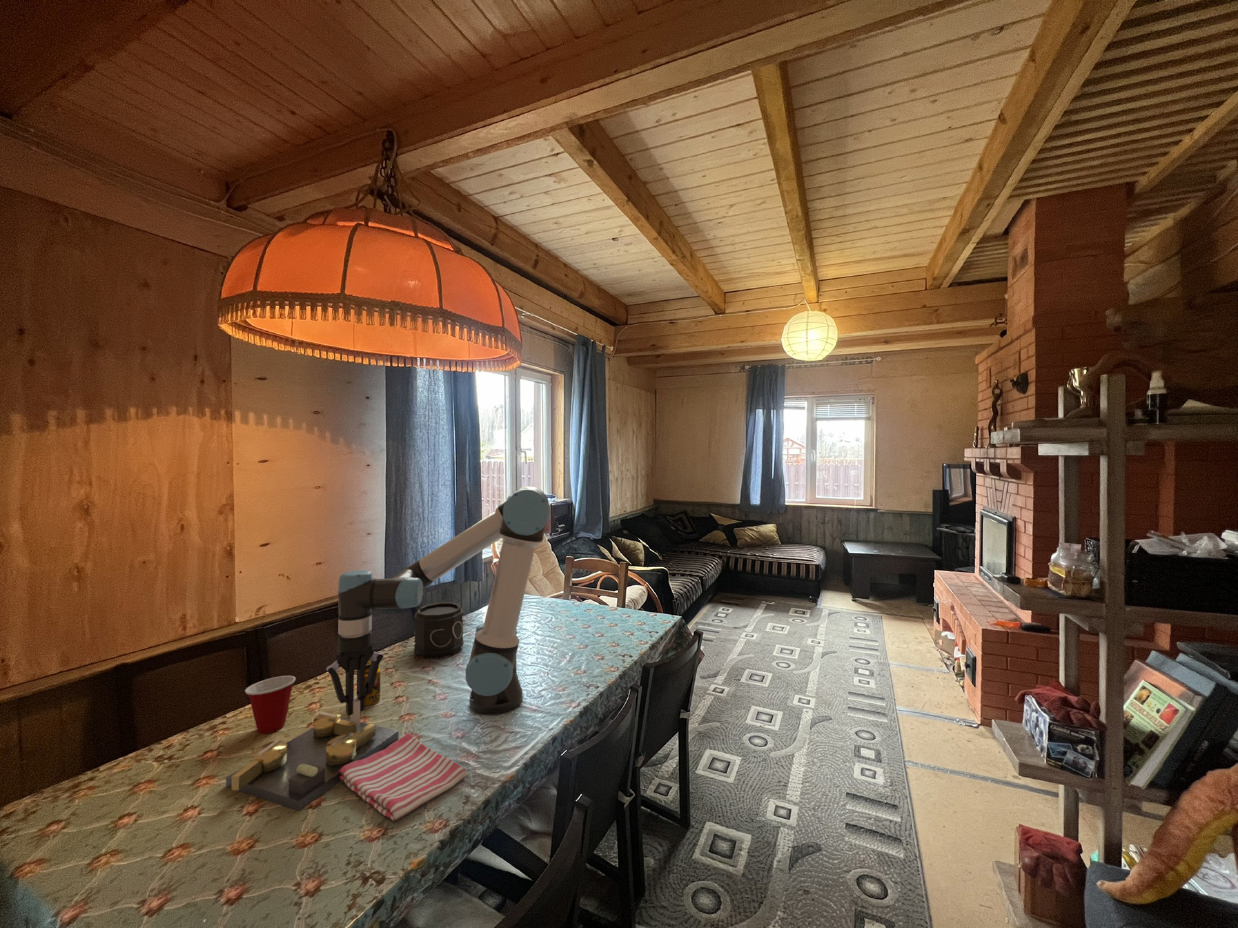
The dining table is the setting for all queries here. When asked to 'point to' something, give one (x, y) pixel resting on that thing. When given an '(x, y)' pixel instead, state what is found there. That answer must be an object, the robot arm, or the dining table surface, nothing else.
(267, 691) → the plastic cup
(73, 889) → the dining table surface
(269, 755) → the knob
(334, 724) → the knob
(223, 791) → the dining table surface
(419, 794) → the dish towel
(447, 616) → the dark lidded canister
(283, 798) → the levelling plate
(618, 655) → the dining table surface
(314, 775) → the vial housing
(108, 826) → the dining table surface
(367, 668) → the condiment
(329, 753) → the knob
